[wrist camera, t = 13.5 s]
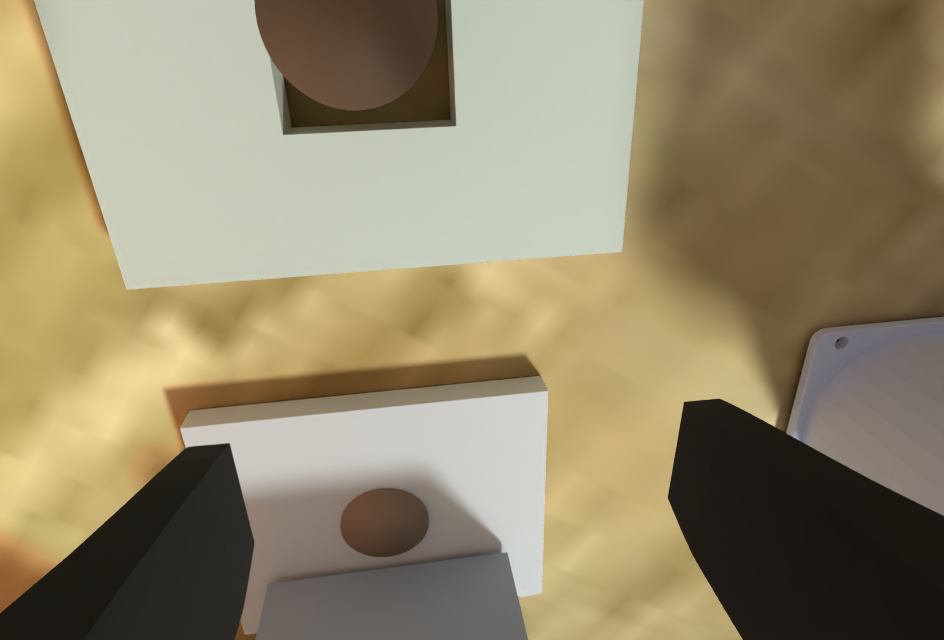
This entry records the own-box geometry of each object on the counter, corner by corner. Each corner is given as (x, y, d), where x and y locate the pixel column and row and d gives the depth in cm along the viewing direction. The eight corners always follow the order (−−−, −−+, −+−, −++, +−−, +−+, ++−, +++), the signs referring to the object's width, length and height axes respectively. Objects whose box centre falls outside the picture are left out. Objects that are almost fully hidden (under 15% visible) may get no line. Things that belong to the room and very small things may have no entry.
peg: (421, -36, 14) (440, -84, 9) (419, 90, 16) (434, 114, 10) (299, -47, 14) (244, -103, 9) (307, 85, 15) (263, 106, 10)
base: (541, 375, 20) (549, 393, 19) (536, 573, 25) (542, 596, 24) (189, 410, 19) (178, 431, 18) (250, 612, 23) (243, 638, 22)
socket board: (641, -267, 13) (670, -303, 12) (604, 236, 18) (622, 251, 17) (-18, -282, 12) (-71, -324, 10) (147, 270, 17) (126, 289, 16)
